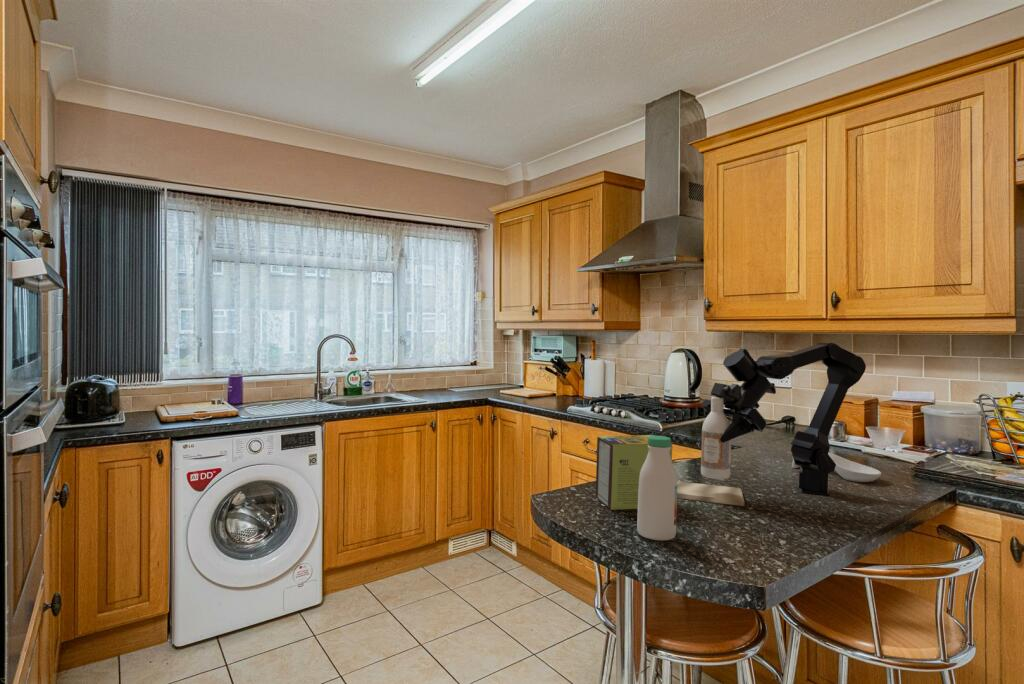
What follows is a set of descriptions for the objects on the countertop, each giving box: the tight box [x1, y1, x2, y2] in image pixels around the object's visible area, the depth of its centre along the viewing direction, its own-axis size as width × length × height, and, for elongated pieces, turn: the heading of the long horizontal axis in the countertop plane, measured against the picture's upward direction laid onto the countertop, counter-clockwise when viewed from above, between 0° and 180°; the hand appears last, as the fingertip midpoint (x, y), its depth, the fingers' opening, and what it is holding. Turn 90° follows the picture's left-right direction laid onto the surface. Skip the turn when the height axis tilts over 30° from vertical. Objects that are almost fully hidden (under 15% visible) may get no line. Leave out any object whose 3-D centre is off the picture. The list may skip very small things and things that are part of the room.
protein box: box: [595, 434, 673, 511], centre depth 132 cm, size 10×15×16 cm
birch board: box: [677, 480, 746, 507], centre depth 140 cm, size 16×12×1 cm
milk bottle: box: [636, 435, 678, 542], centre depth 111 cm, size 8×8×20 cm
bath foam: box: [700, 396, 732, 480], centre depth 137 cm, size 7×7×20 cm
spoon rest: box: [791, 451, 883, 483], centre depth 165 cm, size 24×12×7 cm, turn 42°
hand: (711, 438), depth 137 cm, fingers closed on bath foam, 7 cm apart
